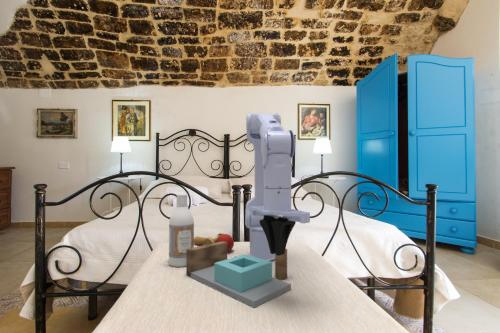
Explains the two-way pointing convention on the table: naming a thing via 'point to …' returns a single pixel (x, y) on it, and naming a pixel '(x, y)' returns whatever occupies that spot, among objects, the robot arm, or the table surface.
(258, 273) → the teal block
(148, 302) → the table surface
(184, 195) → the bath foam
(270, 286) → the slate board
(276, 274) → the walnut dowel
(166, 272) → the table surface
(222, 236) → the kendama
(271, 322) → the table surface
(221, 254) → the walnut wall
